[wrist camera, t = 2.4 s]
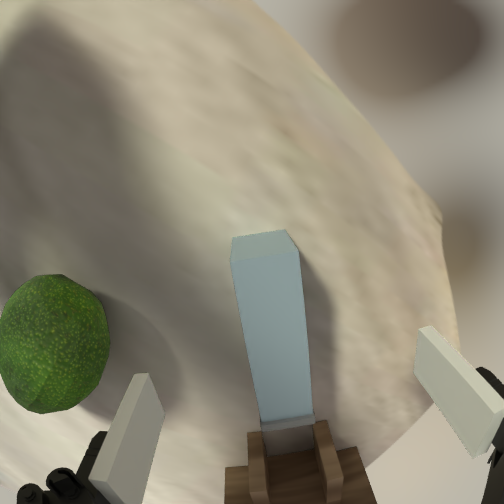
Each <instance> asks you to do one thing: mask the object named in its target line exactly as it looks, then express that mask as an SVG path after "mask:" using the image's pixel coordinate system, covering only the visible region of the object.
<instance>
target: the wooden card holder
mask: <svg viewBox="0 0 504 504" xmlns="http://www.w3.org/2000/svg"><path fill="white" fill-rule="evenodd" d="M247 438H248V466H240V467H228V468H225V499H224V504H377V502H376V499H375V496H374V493H373V491H372V488H371V485H370V482H369V480H368V477H367V474H366V471H365V468H364V466H363V463H362V460H361V457H360V455H359V452H358V449H357V447H352V448H348V449H344V450H340V451H336V450H335V447H334V443H333V440H332V437H331V434H330V430H329V427H328V424H327V421H326V420H325V421H320V422H315V424H313V439H314V449H312V450H307V451H302V452H296V453H290V454H284V455H277V456H270V457H267V454H266V450H265V445H264V441H263V437H262V432H261V431H260V432H252V433H247Z"/></svg>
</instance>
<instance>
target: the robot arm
mask: <svg viewBox="0 0 504 504" xmlns="http://www.w3.org/2000/svg"><path fill="white" fill-rule="evenodd" d="M413 373H414V374H415V376H416V377H417V379H418V380H419V381H420V383H421V384H422V385H423V387H424V388H425V390H426V391H427V392H428V394H429V395H430V397H431V398H432V400H433V401H434V402H435V404H436V405H437V407H438V408H439V410H440V411H441V412H442V414H443V415H444V417H445V418H446V419H447V421H448V423H449V424H450V426H451V427H452V428H453V430H454V431H455V433H456V434H457V436H458V437H459V439H460V440H461V442H462V443H463V445H464V446H465V448H466V449H467V451H468V452H469V454H470V455H471V457H472V459H474V458H476V457H478V456H480V455H482V454H484V453H486V452H487V451H488V449H489V447H490V445H491V443H492V444H493V445H494V446H495V449H494V451H493V453H492V455H491V456H490V458H489V460H488V462H487V463H490V461H491V460H492V461H491V467H490V471H489V475H488V479H487V484H486V488H485V492H484V496H483V499H482V502H481V504H504V385H503V384H502V382H500V380H499V379H497V378H496V376H495V375H494V374H493V373H492V372H491V371H489V370H487V369H485V368H483V367H479V368H476V369H474V368H473V367H472V366H471V364H470V363H469V362H468V361H467V360H466V359H465V358H464V357H463V356H462V355H461V354H460V353H459V352H458V351H457V350H456V349H455V348H454V347H453V346H452V345H451V344H450V343H449V342H448V341H447V340H446V339H445V338H444V337H443V336H442V335H441V334H440V333H439V332H438V331H437V330H436V329H435V328H433V327H432V326H431V325H430V326H427V327H423V328H420V329H418V339H417V348H416V356H415V363H414V370H413ZM164 417H165V411H164V409H163V407H162V405H161V402H160V400H159V397H158V395H157V393H156V390H155V388H154V385H153V383H152V380H151V378H150V375H149V373H137V374H134V376H133V378H132V380H131V382H130V384H129V386H128V388H127V391H126V393H125V395H124V397H123V399H122V402H121V404H120V406H119V408H118V410H117V413H116V415H115V417H114V419H113V422H112V424H111V426H110V428H109V431H99V432H98V433H97V434H96V435H95V436H94V437H93V438H92V440H91V442H90V444H89V447H88V449H87V451H86V453H85V456H84V457H83V460H82V462H81V464H80V466H79V468H78V471H77V473H76V475H75V474H74V472H73V471H72V470H70V469H68V468H63V467H62V468H57V469H55V470H53V471H52V472H51V473H50V474H49V475H48V476H47V479H46V486H47V487H48V488H49V489H50V491H43V490H42V489H41V488H40V487H39V486H38V485H36V484H32V483H29V484H26V485H24V486H22V487H21V488H20V489H19V491H18V494H17V504H142V501H143V497H144V493H145V489H146V485H147V481H148V477H149V473H150V469H151V465H152V461H153V457H154V454H155V450H156V446H157V442H158V439H159V435H160V431H161V428H162V424H163V420H164Z"/></svg>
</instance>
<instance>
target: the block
mask: <svg viewBox="0 0 504 504" xmlns="http://www.w3.org/2000/svg"><path fill="white" fill-rule="evenodd" d="M230 265H231V271H232V276H233V281H234V287H235V292H236V297H237V302H238V308H239V313H240V318H241V323H242V328H243V334H244V339H245V344H246V349H247V354H248V359H249V364H250V369H251V374H252V378H253V383H254V388H255V393H256V398H257V403H258V407H259V412H260V424H261V430H262V432H268V431H275V430H281V429H288V428H294V427H299V426H305V425H310V424H315V415H314V411H313V407H312V391H311V377H310V363H309V351H308V339H307V328H306V317H305V307H304V296H303V287H302V277H301V268H300V259H299V251H298V249H297V248H296V246H295V245H294V243H293V241H292V240H291V238H290V237H289V235H288V234H287V232H286V231H285V229H284V230H278V231H271V232H265V233H258V234H252V235H246V236H239V237H233V238H232V246H231V256H230Z"/></svg>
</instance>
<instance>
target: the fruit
mask: <svg viewBox="0 0 504 504" xmlns="http://www.w3.org/2000/svg"><path fill="white" fill-rule="evenodd" d="M109 348H110V336H109V330H108V325H107V320H106V316H105V313H104V310H103V307H102V304H101V302H100V301H99V300H98V299H97V298H96V296H95V295H94V294H93V293H92V292H91V291H90V290H88V289H86V288H85V287H83V286H81V285H79V284H78V283H76V282H74V281H73V280H71V279H69V278H67V277H66V276H64V275H62V274H56V275H41V276H36V277H34V278H32V279H31V280H29V281H27V282H26V283H24V284H23V285H22V286H21V287H20V288H19V289H18V290H16V291H15V292H14V294H13V295H12V296H11V297H10V299H9V300H8V301H7V303H6V304H5V307H4V310H3V313H2V316H1V318H0V374H1V376H2V379H3V381H4V384H5V386H6V388H7V390H8V392H9V393H10V394H11V396H12V397H13V398H14V399H15V401H16V402H17V403H18V404H20V405H21V406H22V407H24V408H25V409H27V410H28V411H32V412H35V413H39V414H45V413H51V412H57V411H63V410H68V409H70V408H72V407H74V406H76V405H77V404H78V403H80V402H81V401H82V400H83V399H84V398H86V397H87V396H88V395H89V394H90V393H91V392H92V391H93V390H94V389H95V388H96V387H97V385H98V384H99V381H100V378H101V376H102V373H103V370H104V368H105V365H106V362H107V359H108V355H109Z"/></svg>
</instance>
